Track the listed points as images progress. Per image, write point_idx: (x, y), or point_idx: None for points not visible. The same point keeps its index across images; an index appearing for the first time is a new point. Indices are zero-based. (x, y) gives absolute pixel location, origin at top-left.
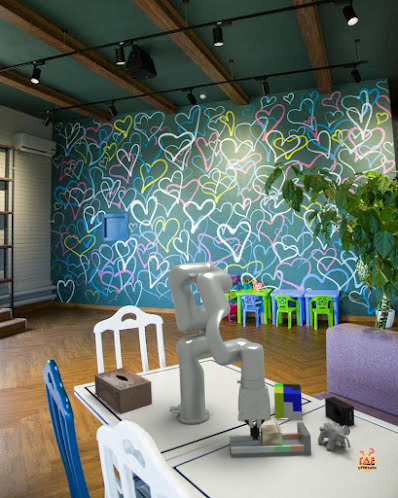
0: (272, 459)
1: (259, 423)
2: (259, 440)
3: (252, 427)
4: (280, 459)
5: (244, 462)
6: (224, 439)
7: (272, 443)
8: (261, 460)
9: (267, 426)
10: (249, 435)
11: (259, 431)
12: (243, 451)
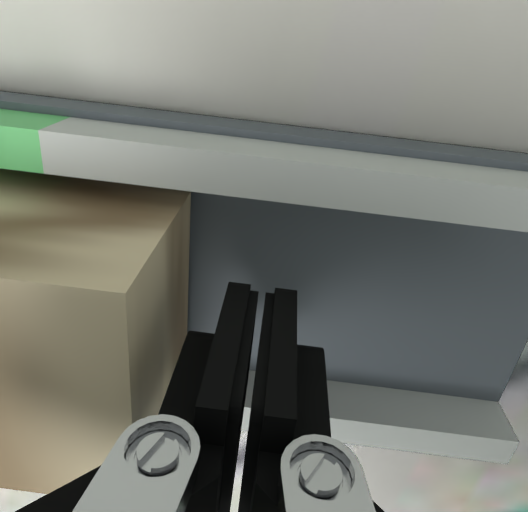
0: (122, 37)
1: (122, 499)
2: None
3: (301, 442)
4: (28, 20)
5: (476, 28)
6: None
7: (49, 199)
8: (256, 38)
9: (29, 458)
10: None
11: (177, 375)
12: (457, 169)
